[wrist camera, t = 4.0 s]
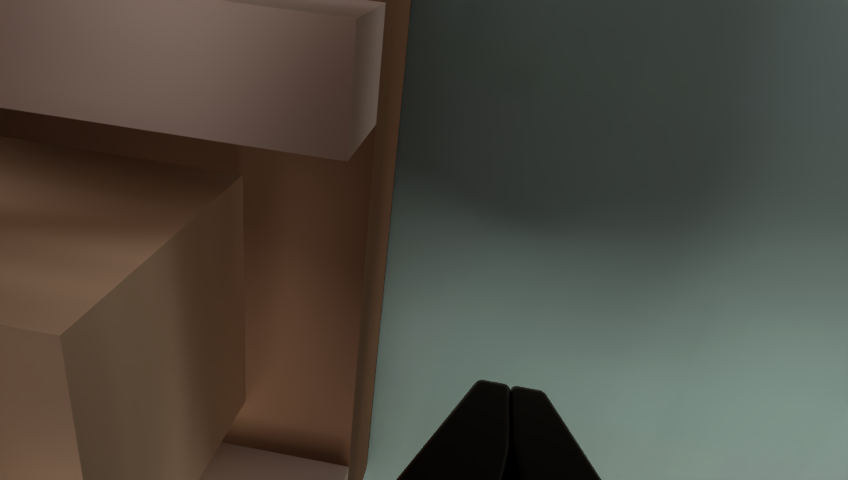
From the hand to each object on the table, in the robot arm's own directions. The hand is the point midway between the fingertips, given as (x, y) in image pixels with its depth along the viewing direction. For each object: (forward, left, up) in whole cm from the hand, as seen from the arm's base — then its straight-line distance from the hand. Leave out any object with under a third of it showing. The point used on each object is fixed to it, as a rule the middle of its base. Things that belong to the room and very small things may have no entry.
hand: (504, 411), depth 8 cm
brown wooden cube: (+5, +4, -2) cm, 6 cm away
